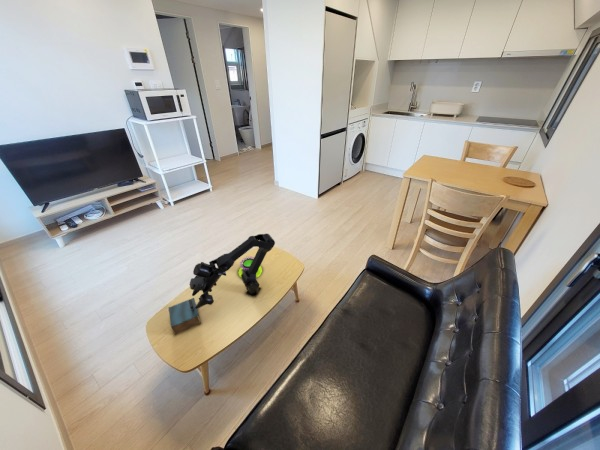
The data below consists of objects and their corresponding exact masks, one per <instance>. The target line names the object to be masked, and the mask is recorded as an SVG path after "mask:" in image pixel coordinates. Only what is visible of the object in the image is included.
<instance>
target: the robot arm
mask: <svg viewBox="0 0 600 450" xmlns="http://www.w3.org/2000/svg"><path fill="white" fill-rule="evenodd" d="M275 245H276V241H275V239H274V238H273V237H272V236H271V235H270V234H269V233H259V234H256V235H250V236H248V238H247V239H246V240H245V241H243V242H242V243H240V244H239V245H238V246H237V247H235V248H234V249H233V250H231V251H229V252H228V253H223V254H222V255H220V256H218V257H217V258H215V259H212V260H211V261H210V260H209V262H208V263H206V262H204V261H200V263H199V262H198V263H196V264H195V266H194V267H193V271H192V272H193V273H192V274H193V275H194V277H192V278H191V279H190V280H189V288H190V290H192V293H191V296H192V297H194V296H196V295H197V294H199V292H201V291H202V293H201V294H200V296H199V297H198V302H197V304H196V307H195V309H197V310H198V309H200V308H202V307H204V306H206V305H207V306H208V305H209V306H212V305H213V304H214V303H215V299H214V297H213V295H212V294H210V293H212V292H213V290H212V289H213V287H216V286H217V283H218V281H219V279H220V278H221V276H224V277H226V276H227V273H226V272H228V271H229V270H230V269H231V268H232V267H233V266H234V264H235V262H236V261H237V260H238V259H240V258H241V257H242V256H244V255H245V254H246V253H247V252H249V251H250V250H251V249H253V248H256V247H258V249H257V251H256V253H255V255H254V256H253V257H254V258H253V261H252V263H251V265H250V267H249V269H248V270H246V271H243V273H242V275H241V277H240V279H241V281H242V283H243V285H244V287H245V288H246V292H245V294H246V295H249V296H252V297H254V298H255V297H257V295H258V294H259V293H260V291H261V287H260V284H259V281H258V279H257V278H256V273H257V271H258V269H259V267H260V266H261V265H262V263H263V261H264V260H265V258H266V255H267V254H268V252H270V251H272V250H273V247H275Z"/></svg>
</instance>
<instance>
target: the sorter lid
mask: <svg viewBox="0 0 600 450" xmlns="http://www.w3.org/2000/svg"><path fill="white" fill-rule="evenodd" d="M196 305H197V304H196V299H195V297H192V298H189V299H187V300H184V301H182V302H179V303H177V304H174V305H172V306H169V307H168V314H169V320H170V327H171V328H172V327H174V326H176V325H178V324H181V323H183V322H185V321H188V320H190V319H192V318H195V317H197V316H199V317H200V315H199V310H198V309H195V307H196Z"/></svg>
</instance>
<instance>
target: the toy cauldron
mask: <svg viewBox="0 0 600 450" xmlns="http://www.w3.org/2000/svg"><path fill="white" fill-rule="evenodd" d="M254 257H255V256H250V255H249V256H248V255H247V256H246V257H244V258H243V259H242V260H241V261H239V266H240V268H239V270H238V276H239V278H241V275H242V273H243V271H246V270H248V269H249V267H250V265H251V263H252V261H253V259H254ZM262 272H263V268H262V266H261V265H260V267H259V269H258V271H257V273H256V279H257V278H259V277H260V276H261V274H262Z"/></svg>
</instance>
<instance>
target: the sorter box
mask: <svg viewBox="0 0 600 450" xmlns="http://www.w3.org/2000/svg"><path fill="white" fill-rule="evenodd" d="M199 325H201V319H200V315H199V316H197V317H195V318H192V319H190V320H188V321H185V322H183V323H181V324H178V325H176V326H174V327H171V329H172V331H173V333H174V335H179V334H182V333H183V332H185V331H188V330H190V329H192V328H194V327H197V326H199Z"/></svg>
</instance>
